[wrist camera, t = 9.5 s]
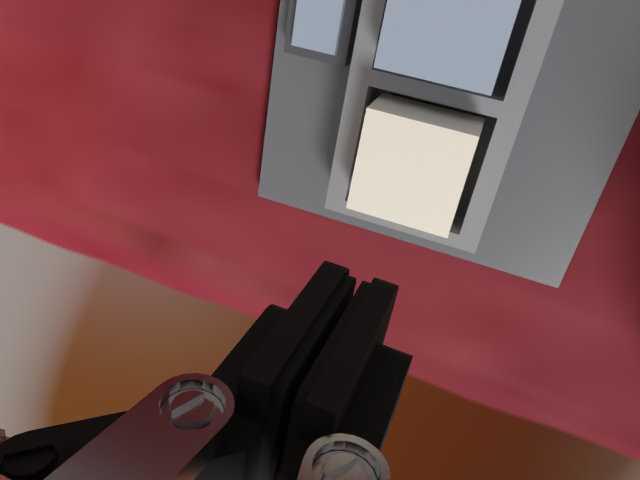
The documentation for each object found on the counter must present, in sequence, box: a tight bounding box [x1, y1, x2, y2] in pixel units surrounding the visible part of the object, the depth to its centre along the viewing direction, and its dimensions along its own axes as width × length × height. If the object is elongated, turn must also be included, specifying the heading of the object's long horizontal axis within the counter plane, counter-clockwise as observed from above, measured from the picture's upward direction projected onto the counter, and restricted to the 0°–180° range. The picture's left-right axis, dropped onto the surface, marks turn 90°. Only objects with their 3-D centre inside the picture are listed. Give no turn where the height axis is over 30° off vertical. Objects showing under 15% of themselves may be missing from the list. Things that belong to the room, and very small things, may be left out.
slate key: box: [374, 0, 521, 96], centre depth 19 cm, size 4×4×2 cm
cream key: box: [346, 93, 485, 238], centre depth 21 cm, size 4×4×2 cm
